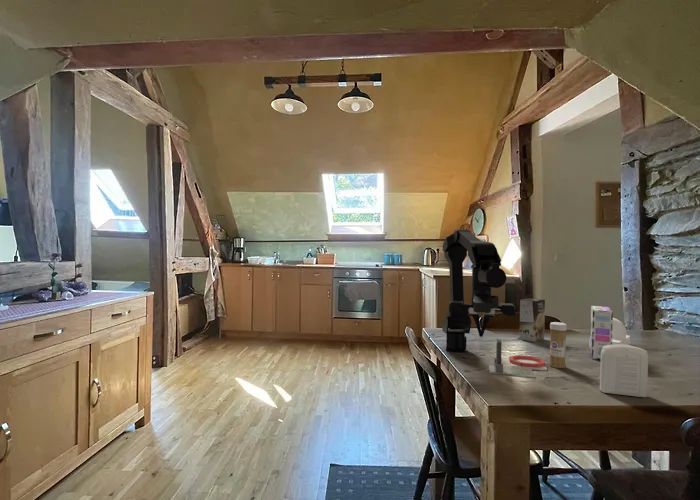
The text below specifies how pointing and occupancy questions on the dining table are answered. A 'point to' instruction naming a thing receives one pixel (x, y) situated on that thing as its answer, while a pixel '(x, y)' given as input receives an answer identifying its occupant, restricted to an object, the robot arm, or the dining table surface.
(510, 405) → the dining table surface
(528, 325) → the coffee box
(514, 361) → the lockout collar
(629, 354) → the photo printer
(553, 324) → the sprinkles bottle
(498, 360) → the block
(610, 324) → the candy box
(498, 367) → the panel
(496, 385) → the dining table surface
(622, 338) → the u-slot stand
